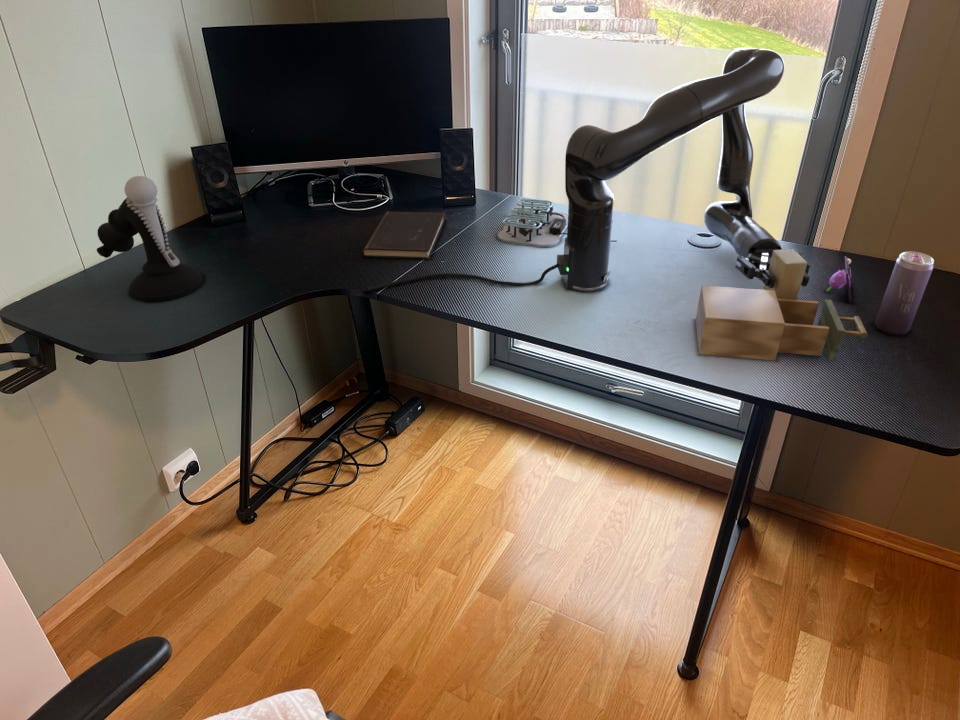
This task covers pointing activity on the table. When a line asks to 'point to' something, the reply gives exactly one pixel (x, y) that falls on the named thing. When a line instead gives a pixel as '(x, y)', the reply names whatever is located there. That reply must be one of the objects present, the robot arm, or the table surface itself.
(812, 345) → the drawer
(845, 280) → the purple figurine
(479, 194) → the table surface
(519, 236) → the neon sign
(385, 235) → the hardcover book
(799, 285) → the cosmetic box
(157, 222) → the sculpture
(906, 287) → the beverage can
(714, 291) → the cabinet
